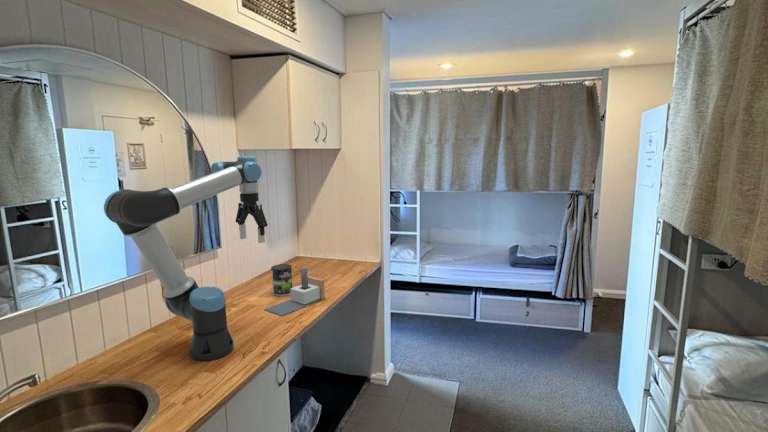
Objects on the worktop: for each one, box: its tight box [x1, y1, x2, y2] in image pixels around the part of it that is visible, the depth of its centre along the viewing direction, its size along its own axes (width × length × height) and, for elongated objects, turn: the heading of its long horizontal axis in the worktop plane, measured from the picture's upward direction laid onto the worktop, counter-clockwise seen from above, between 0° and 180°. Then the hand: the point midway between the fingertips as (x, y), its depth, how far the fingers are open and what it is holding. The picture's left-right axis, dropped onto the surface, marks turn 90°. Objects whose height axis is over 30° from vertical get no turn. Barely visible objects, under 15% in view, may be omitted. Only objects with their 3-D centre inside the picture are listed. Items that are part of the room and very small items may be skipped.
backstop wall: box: [308, 275, 326, 301], centre depth 207 cm, size 2×13×10 cm, turn 52°
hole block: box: [290, 284, 320, 305], centre depth 202 cm, size 10×10×6 cm
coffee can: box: [270, 263, 293, 297], centre depth 214 cm, size 10×10×14 cm
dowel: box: [300, 267, 309, 290], centre depth 201 cm, size 3×3×14 cm
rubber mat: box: [264, 298, 325, 317], centre depth 198 cm, size 26×13×1 cm, turn 142°
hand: (252, 240), depth 180 cm, fingers open, 13 cm apart
